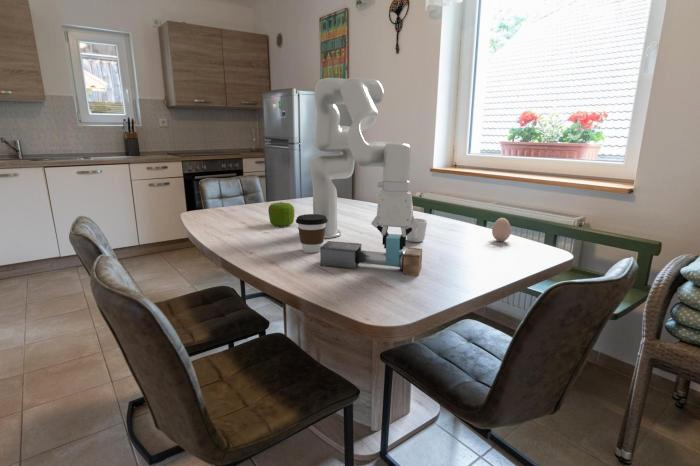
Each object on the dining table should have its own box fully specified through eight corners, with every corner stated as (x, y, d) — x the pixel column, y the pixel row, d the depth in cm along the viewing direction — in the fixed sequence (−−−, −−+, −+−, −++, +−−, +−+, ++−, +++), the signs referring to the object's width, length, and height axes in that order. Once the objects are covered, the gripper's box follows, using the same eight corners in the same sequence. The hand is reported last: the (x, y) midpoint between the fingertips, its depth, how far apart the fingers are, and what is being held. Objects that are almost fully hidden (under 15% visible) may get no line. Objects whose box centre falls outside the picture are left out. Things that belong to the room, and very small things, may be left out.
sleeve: (320, 266, 123) (320, 247, 122) (328, 258, 131) (328, 241, 129) (354, 269, 120) (354, 250, 119) (361, 261, 128) (361, 243, 126)
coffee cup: (303, 256, 132) (302, 221, 129) (292, 248, 142) (291, 215, 139) (333, 252, 137) (332, 218, 134) (320, 244, 147) (320, 212, 144)
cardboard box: (402, 274, 117) (403, 254, 115) (406, 266, 124) (407, 247, 122) (418, 275, 115) (419, 256, 114) (421, 267, 122) (422, 248, 121)
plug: (351, 267, 122) (351, 235, 119) (356, 262, 127) (356, 231, 124) (414, 273, 117) (416, 240, 114) (417, 267, 122) (418, 235, 119)
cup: (425, 246, 145) (426, 224, 143) (403, 245, 147) (404, 223, 145) (426, 238, 155) (427, 218, 153) (405, 237, 157) (406, 217, 155)
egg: (488, 241, 152) (490, 217, 150) (495, 238, 157) (497, 215, 154) (505, 244, 147) (508, 220, 145) (512, 241, 152) (515, 217, 150)
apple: (299, 224, 178) (298, 200, 175) (283, 229, 169) (282, 204, 167) (280, 221, 184) (279, 198, 181) (264, 226, 175) (262, 201, 172)
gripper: (364, 187, 114) (363, 249, 118) (423, 190, 109) (420, 254, 114) (370, 184, 121) (369, 242, 125) (426, 186, 116) (423, 246, 121)
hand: (394, 247), depth 119 cm, fingers closed on plug, 4 cm apart
